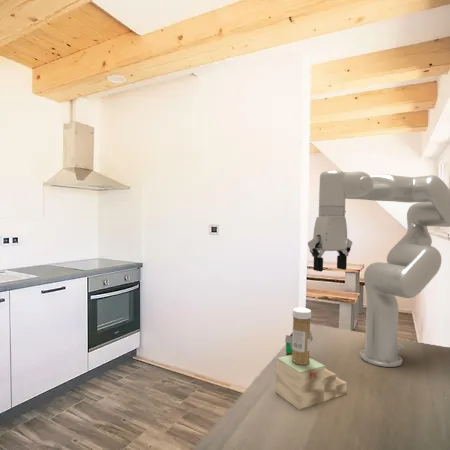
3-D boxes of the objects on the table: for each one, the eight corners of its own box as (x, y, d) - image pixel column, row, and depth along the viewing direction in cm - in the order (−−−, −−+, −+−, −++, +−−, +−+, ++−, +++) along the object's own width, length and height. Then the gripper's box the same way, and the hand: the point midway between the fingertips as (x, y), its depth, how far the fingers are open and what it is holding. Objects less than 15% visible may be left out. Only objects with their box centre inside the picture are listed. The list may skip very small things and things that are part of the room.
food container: (304, 373, 99) (305, 339, 99) (284, 368, 103) (285, 335, 102) (316, 359, 110) (317, 328, 110) (298, 354, 113) (299, 325, 113)
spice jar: (313, 363, 85) (315, 310, 85) (300, 367, 83) (302, 312, 82) (300, 356, 89) (302, 305, 89) (287, 360, 87) (289, 308, 86)
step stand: (320, 379, 96) (321, 347, 96) (347, 394, 88) (348, 360, 88) (275, 392, 88) (276, 358, 88) (300, 410, 80) (301, 373, 80)
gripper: (342, 213, 108) (340, 266, 109) (301, 212, 100) (299, 269, 100) (361, 213, 102) (360, 270, 102) (319, 211, 94) (317, 273, 94)
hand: (330, 269), depth 101 cm, fingers open, 9 cm apart
